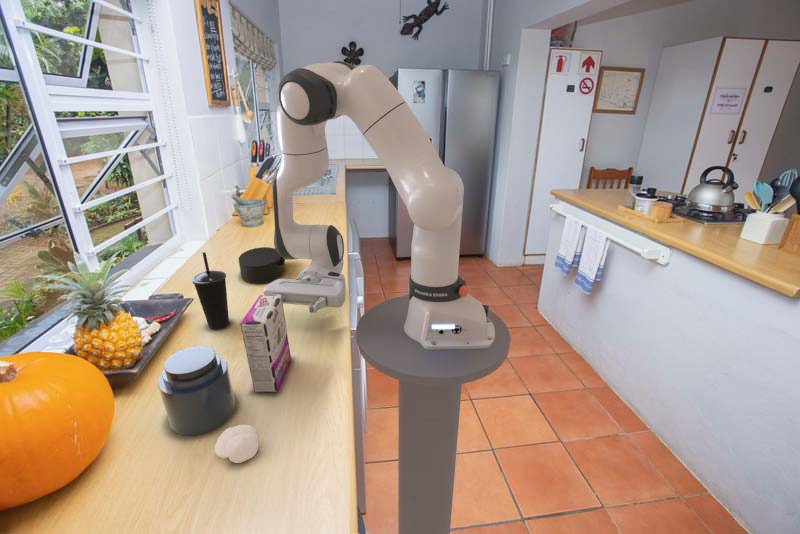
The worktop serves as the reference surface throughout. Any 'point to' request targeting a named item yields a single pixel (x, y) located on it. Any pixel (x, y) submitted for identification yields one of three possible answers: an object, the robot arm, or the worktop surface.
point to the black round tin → (261, 265)
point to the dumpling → (237, 443)
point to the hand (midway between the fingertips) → (292, 308)
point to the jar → (196, 391)
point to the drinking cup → (212, 296)
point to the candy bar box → (266, 342)
